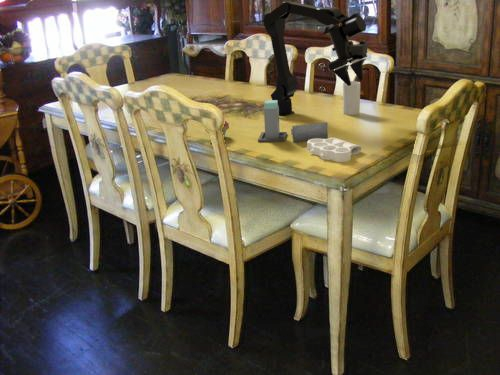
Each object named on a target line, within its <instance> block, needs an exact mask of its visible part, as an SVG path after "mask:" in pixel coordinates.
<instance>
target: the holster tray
mask: <svg viewBox="0 0 500 375" xmlns="http://www.w3.org/2000/svg"><path fill="white" fill-rule="evenodd" d="M287 135H288V132H287V131H280V137H279V139H265V131H261V134H260V135H259V137H258V139H257V142H258V143H284V142H285V141H286V138H287Z"/></svg>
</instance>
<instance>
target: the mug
mask: <svg viewBox="0 0 500 375" xmlns="http://www.w3.org/2000/svg"><path fill="white" fill-rule="evenodd" d="M350 82H351V85H350V86H348V85H347V84H346V83H345V82H344V81H343V82H342V106H343V107H342V110H343V111H342V112H343V115H345V116H357V115H359V114H360V106H361V82H360V81H357V80H355V81H354V80H352V81H351V80H350Z"/></svg>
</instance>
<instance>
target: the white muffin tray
mask: <svg viewBox="0 0 500 375" xmlns="http://www.w3.org/2000/svg"><path fill="white" fill-rule="evenodd" d="M306 150H307V151H308V153H309V154H312V155H314V156H318V157H319V158H320V159H321V160H327V161H328V160H329V161H333V162H336V163H346V162H349V161H350V160H351V159H352V158H351V157H352V156H353V155H358V154H360V153H361V151H362V150H363V148H362V146H361V145H358V144H354V143H352V142H349V141H347V140H343V139H340V138H338V137H330V138H329V137H328V139H318V138H317V139H310V140H308V141H306Z"/></svg>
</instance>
